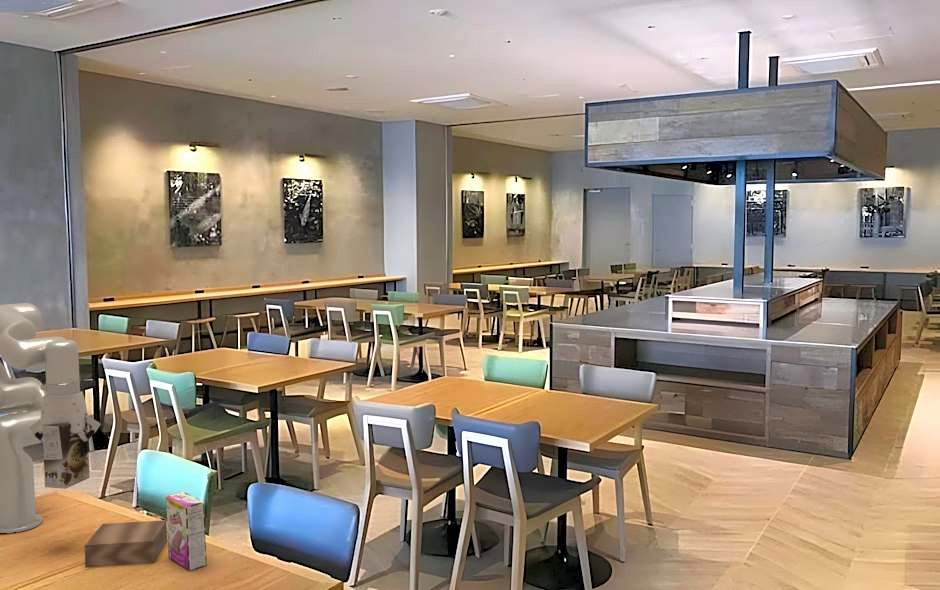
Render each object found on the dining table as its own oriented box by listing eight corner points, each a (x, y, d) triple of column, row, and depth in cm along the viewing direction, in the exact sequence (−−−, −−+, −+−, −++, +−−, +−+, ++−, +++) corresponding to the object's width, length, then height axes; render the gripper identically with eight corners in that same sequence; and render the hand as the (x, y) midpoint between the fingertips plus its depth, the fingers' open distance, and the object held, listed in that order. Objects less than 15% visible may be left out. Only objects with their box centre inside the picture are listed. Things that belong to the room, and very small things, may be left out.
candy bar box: (166, 558, 194) (164, 495, 192) (185, 552, 197) (183, 490, 196) (188, 572, 186) (185, 506, 185) (207, 565, 190) (205, 500, 188)
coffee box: (66, 489, 192) (63, 426, 191) (43, 487, 194) (40, 424, 192) (91, 477, 201) (88, 417, 200) (69, 476, 203) (66, 416, 201)
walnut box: (85, 568, 189) (84, 545, 188) (103, 545, 203) (102, 523, 202) (153, 564, 191) (152, 541, 191) (167, 541, 205) (166, 520, 204)
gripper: (20, 393, 190) (24, 462, 192) (94, 390, 193) (98, 458, 195) (32, 387, 198) (36, 453, 199) (104, 384, 201) (107, 450, 202)
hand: (66, 455), depth 197 cm, fingers closed on coffee box, 8 cm apart
